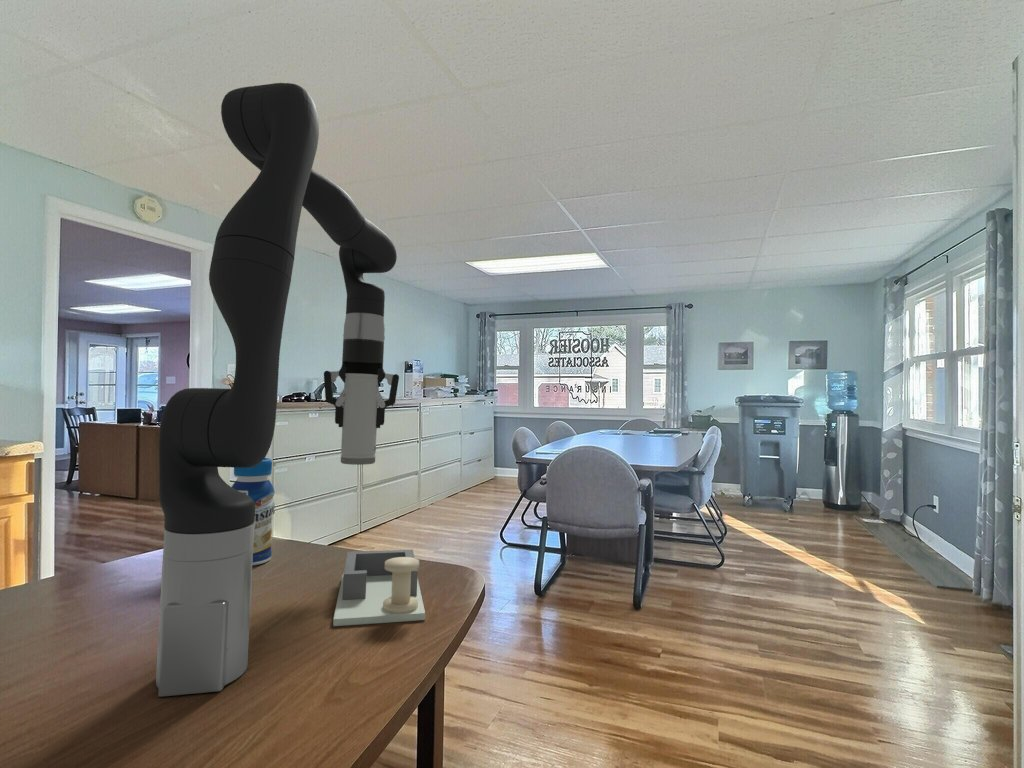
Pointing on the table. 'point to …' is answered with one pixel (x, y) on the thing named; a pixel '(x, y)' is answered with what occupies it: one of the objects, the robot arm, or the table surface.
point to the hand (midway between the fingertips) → (359, 427)
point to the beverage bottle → (259, 505)
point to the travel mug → (359, 414)
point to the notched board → (379, 589)
